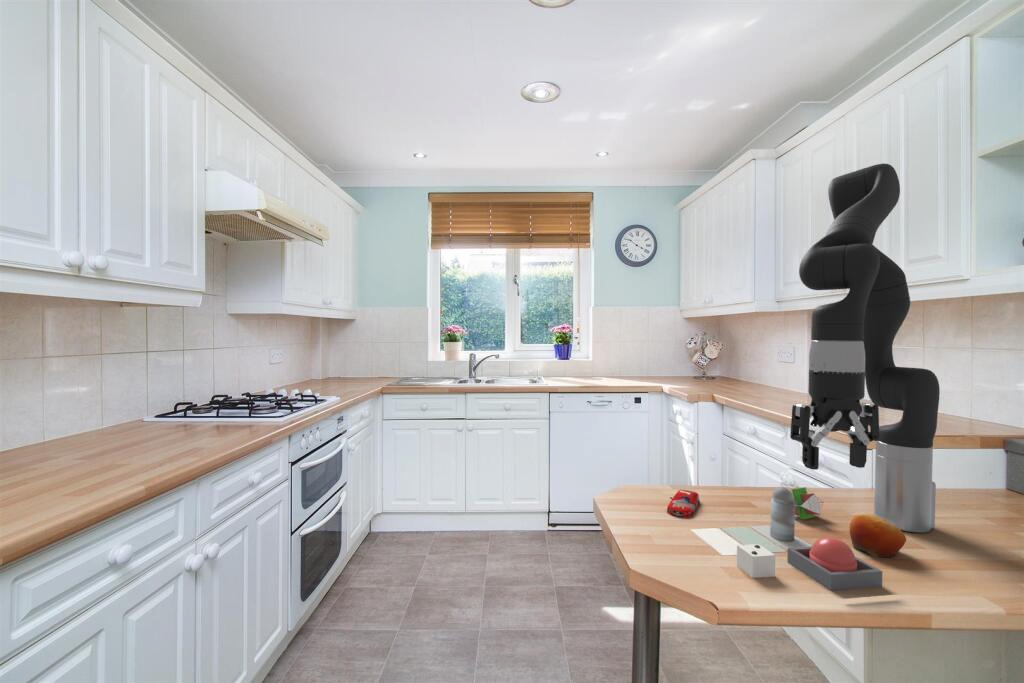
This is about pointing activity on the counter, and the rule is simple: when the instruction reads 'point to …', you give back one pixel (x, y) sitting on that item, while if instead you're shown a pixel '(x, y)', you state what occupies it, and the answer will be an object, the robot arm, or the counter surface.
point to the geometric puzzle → (806, 503)
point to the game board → (744, 539)
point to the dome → (833, 555)
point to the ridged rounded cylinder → (782, 515)
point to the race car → (683, 503)
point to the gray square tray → (835, 580)
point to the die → (756, 560)
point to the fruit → (876, 536)
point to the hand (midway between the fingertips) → (834, 467)
